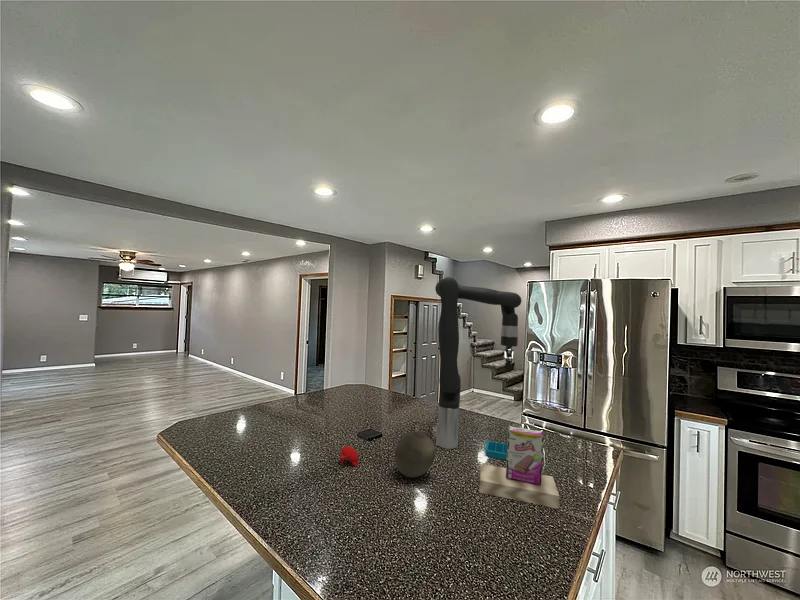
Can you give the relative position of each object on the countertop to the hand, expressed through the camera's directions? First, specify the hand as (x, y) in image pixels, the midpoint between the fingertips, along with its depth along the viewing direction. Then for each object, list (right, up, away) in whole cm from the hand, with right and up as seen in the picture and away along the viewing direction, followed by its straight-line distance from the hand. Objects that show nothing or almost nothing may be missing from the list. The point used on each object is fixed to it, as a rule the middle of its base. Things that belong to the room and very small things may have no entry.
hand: (507, 370), depth 152 cm
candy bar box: (-9, -28, -42) cm, 51 cm away
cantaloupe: (-45, -30, -35) cm, 65 cm away
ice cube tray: (-3, -34, -14) cm, 37 cm away
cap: (-70, -29, -29) cm, 81 cm away
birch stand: (-11, -32, -42) cm, 53 cm away
